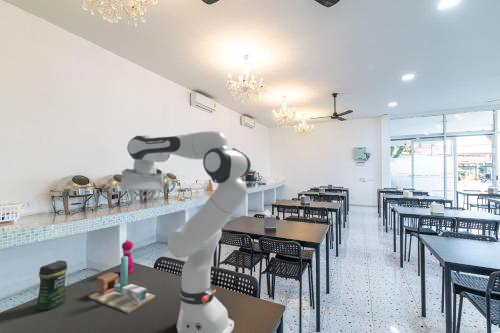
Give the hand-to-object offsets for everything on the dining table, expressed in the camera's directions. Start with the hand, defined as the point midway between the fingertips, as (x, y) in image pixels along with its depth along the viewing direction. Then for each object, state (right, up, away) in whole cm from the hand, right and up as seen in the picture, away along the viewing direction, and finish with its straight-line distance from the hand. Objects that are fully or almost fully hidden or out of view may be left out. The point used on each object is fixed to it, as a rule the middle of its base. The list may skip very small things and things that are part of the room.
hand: (142, 200), depth 106 cm
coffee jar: (-39, -47, -3) cm, 61 cm away
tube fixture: (-12, -47, +3) cm, 48 cm away
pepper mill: (-25, -48, +32) cm, 63 cm away
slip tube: (-7, -44, +2) cm, 45 cm away
